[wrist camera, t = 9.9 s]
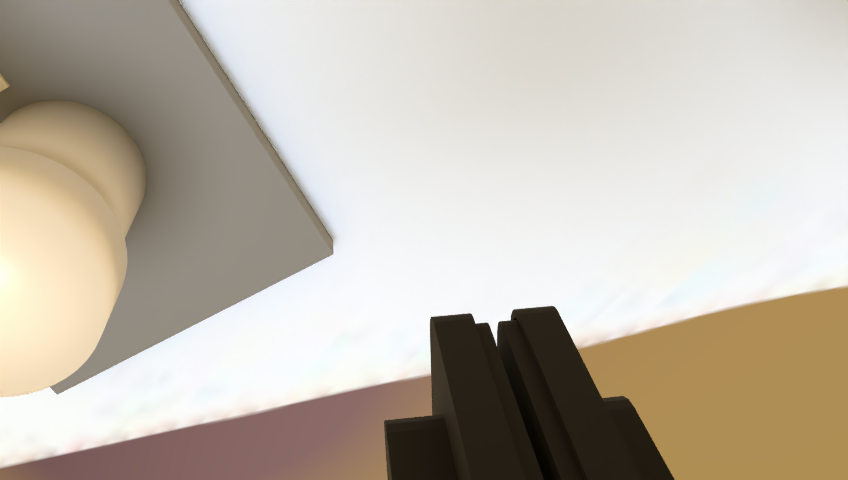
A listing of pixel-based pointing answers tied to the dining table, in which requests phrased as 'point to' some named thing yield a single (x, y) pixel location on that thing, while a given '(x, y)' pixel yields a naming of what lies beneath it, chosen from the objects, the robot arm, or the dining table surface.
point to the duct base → (154, 160)
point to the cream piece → (52, 270)
